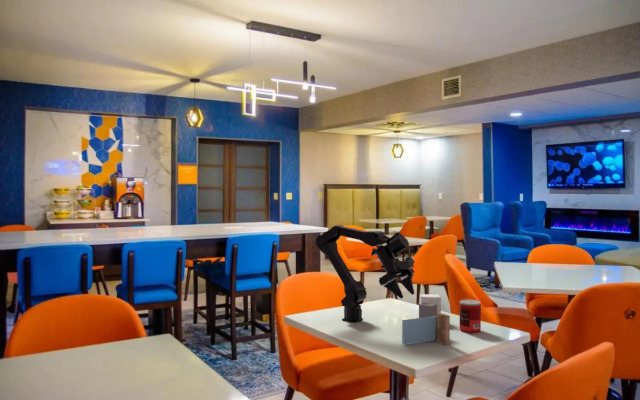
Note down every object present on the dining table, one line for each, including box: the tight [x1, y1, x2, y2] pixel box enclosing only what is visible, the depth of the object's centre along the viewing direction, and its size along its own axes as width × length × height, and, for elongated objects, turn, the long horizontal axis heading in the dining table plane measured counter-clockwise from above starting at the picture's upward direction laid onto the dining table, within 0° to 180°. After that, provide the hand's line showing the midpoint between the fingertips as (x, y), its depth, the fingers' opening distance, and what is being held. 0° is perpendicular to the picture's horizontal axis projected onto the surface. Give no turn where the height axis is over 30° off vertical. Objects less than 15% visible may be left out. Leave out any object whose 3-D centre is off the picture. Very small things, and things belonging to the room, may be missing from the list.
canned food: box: [459, 299, 482, 334], centre depth 187 cm, size 8×8×11 cm
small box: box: [419, 293, 442, 313], centre depth 201 cm, size 8×6×10 cm
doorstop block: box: [418, 302, 437, 318], centre depth 183 cm, size 5×5×11 cm
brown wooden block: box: [436, 312, 451, 346], centre depth 171 cm, size 5×1×10 cm, turn 25°
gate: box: [401, 316, 437, 345], centre depth 172 cm, size 15×1×8 cm, turn 115°
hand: (407, 296), depth 188 cm, fingers open, 9 cm apart
